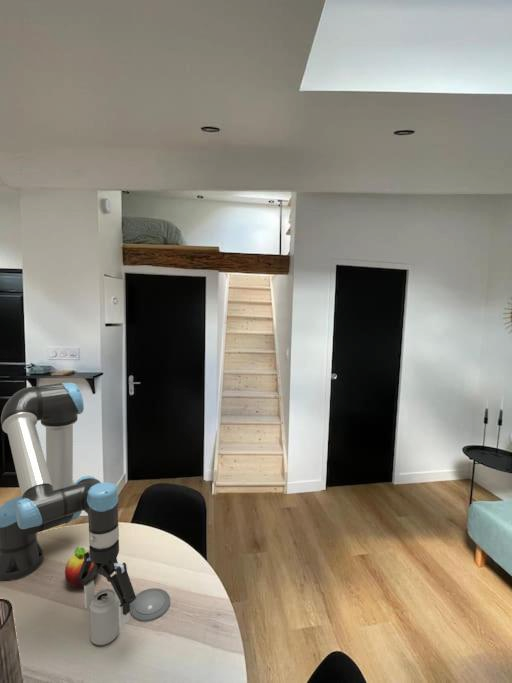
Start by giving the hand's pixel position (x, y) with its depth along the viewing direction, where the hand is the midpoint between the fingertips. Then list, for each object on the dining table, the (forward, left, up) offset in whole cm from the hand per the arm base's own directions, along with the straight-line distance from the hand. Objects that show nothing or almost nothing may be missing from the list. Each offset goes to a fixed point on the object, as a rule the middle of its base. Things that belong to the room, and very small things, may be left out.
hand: (106, 614), depth 105 cm
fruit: (-24, +11, -7) cm, 28 cm away
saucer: (+3, +14, -7) cm, 16 cm away
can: (-1, 0, -7) cm, 7 cm away
